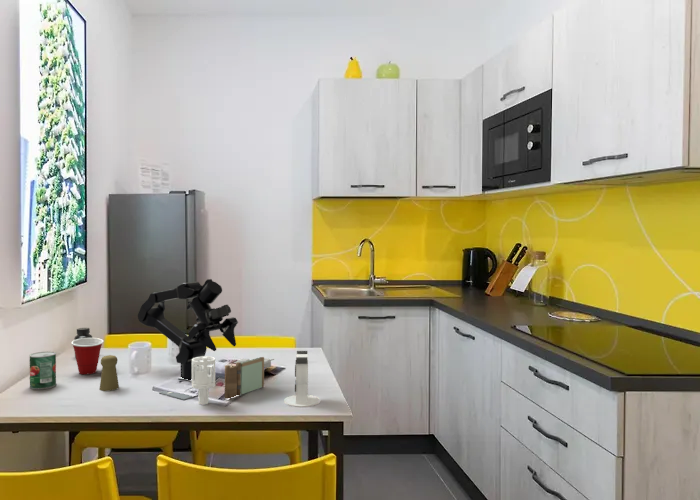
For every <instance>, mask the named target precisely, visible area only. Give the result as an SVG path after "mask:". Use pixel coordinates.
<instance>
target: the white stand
mask: <svg viewBox="0 0 700 500" xmlns="http://www.w3.org/2000/svg"><path fill="white" fill-rule="evenodd" d="M294 377H295V381H294V382H295V383H294V392H295V395H290V396H287V397H285V398H284V400H283V402H284V404H285V405H287V406H289V407H295V408H308V407H312V406H316V405H318V404H320V402H321V399H320V398H319V397H318V396H315V395H311V394H310V395H309V394H308V393H309V388H308V387H309V384H308V383H309V354H308V350H297V351H296V358H295V365H294Z"/></svg>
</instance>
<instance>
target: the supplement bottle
mask: <svg viewBox="0 0 700 500" xmlns="http://www.w3.org/2000/svg"><path fill="white" fill-rule="evenodd" d="M90 329H91V328H90V327H80V328H76V334H77V335H75V336H74V338H73V340H76V339H81V338H93V335H92V334H90V333H91V332H90V331H91V330H90ZM74 358H75V359H76V356H75V355H74Z"/></svg>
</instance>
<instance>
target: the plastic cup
mask: <svg viewBox="0 0 700 500" xmlns="http://www.w3.org/2000/svg"><path fill="white" fill-rule="evenodd" d="M103 343H104V340H103V339H102V338H98V337H92V338H81V339H76V340H74V339H73V340H72V341H71V345H72V347H73V351H74V357H75V356H76V358H75V360H76V365H77V370H78V373H79V374H80V375H92V374H93V375H94V374H95V373H97V370H98V364H99V360H100V353H101V350H102V349H101V348H102V345H103Z"/></svg>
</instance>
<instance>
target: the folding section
mask: <svg viewBox="0 0 700 500" xmlns="http://www.w3.org/2000/svg"><path fill="white" fill-rule="evenodd" d="M264 359H265V357H264V356H260V357H257V358H253V359H249V361H245V362H242V363H241V395H244V394H247V393H249V392H253V391H256V390H258V389H261V388H264V387H265V370H264Z"/></svg>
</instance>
